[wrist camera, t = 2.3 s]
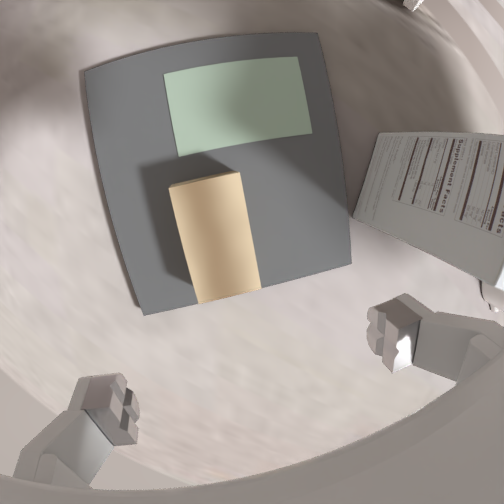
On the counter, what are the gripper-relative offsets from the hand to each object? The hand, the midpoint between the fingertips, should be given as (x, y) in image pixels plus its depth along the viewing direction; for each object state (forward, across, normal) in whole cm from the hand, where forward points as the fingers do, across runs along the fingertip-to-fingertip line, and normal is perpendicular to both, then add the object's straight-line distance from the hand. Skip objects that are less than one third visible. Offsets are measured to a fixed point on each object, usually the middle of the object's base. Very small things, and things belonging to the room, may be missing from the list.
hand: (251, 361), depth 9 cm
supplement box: (+17, +19, 0) cm, 26 cm away
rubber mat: (+17, +2, +5) cm, 18 cm away
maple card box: (+16, 0, 0) cm, 16 cm away
